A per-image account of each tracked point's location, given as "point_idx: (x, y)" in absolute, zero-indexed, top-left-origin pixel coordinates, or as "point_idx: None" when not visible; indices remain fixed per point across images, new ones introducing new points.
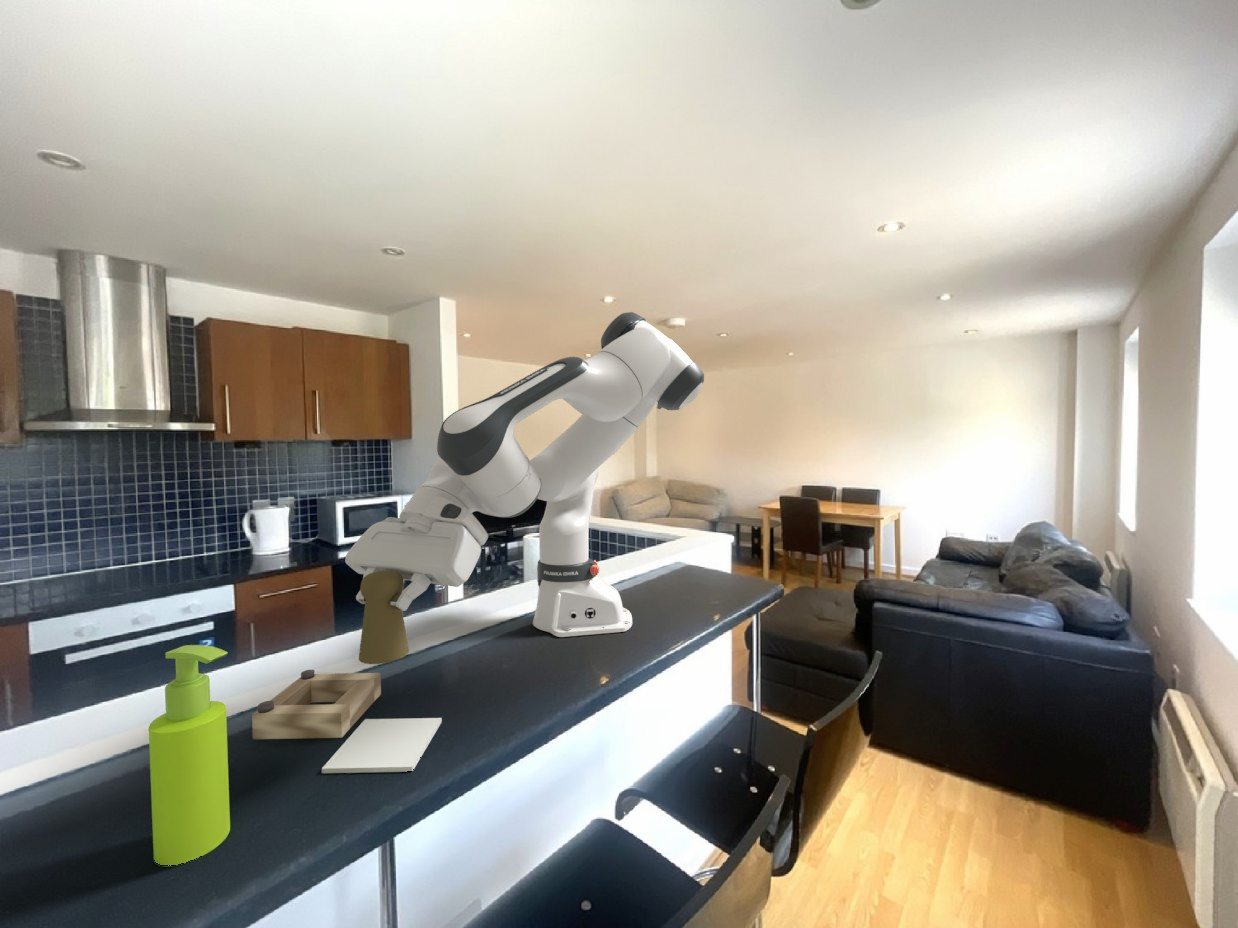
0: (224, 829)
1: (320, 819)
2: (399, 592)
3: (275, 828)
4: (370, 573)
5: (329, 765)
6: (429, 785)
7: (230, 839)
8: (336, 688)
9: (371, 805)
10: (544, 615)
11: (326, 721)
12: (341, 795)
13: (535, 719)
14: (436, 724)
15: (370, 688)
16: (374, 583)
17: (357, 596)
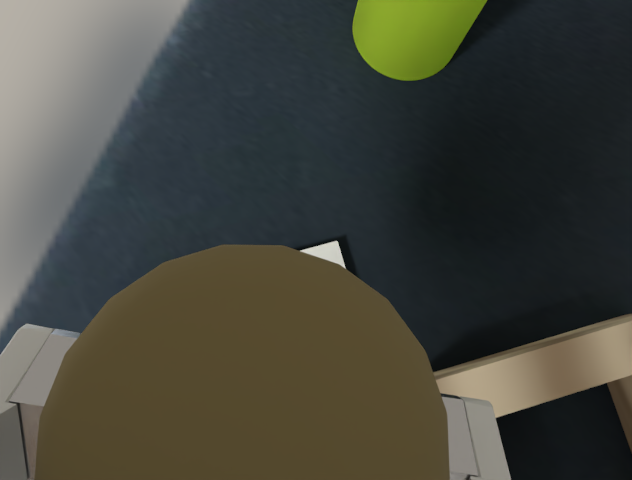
0: (358, 36)
1: (219, 124)
2: (41, 404)
3: (288, 87)
4: (400, 440)
5: (327, 253)
6: (46, 265)
7: (346, 49)
8: None
9: (141, 179)
10: None
11: (460, 369)
12: (231, 191)
13: None
14: None
15: None
16: (194, 258)
17: (479, 404)
